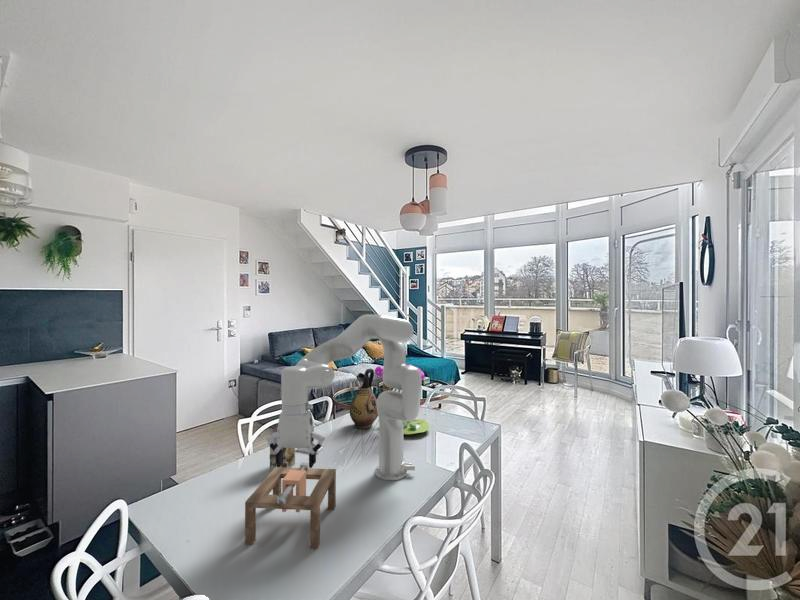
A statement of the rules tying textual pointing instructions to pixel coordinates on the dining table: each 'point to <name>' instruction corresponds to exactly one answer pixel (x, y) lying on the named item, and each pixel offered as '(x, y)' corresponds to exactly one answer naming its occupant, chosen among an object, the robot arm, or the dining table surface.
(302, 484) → the slotted peach block
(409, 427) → the flower ornament
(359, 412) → the ceramic jug
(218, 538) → the dining table surface
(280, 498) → the metal guide rod
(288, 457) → the coffee box
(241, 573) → the dining table surface
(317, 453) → the multiport hub
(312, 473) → the open wooden frame
